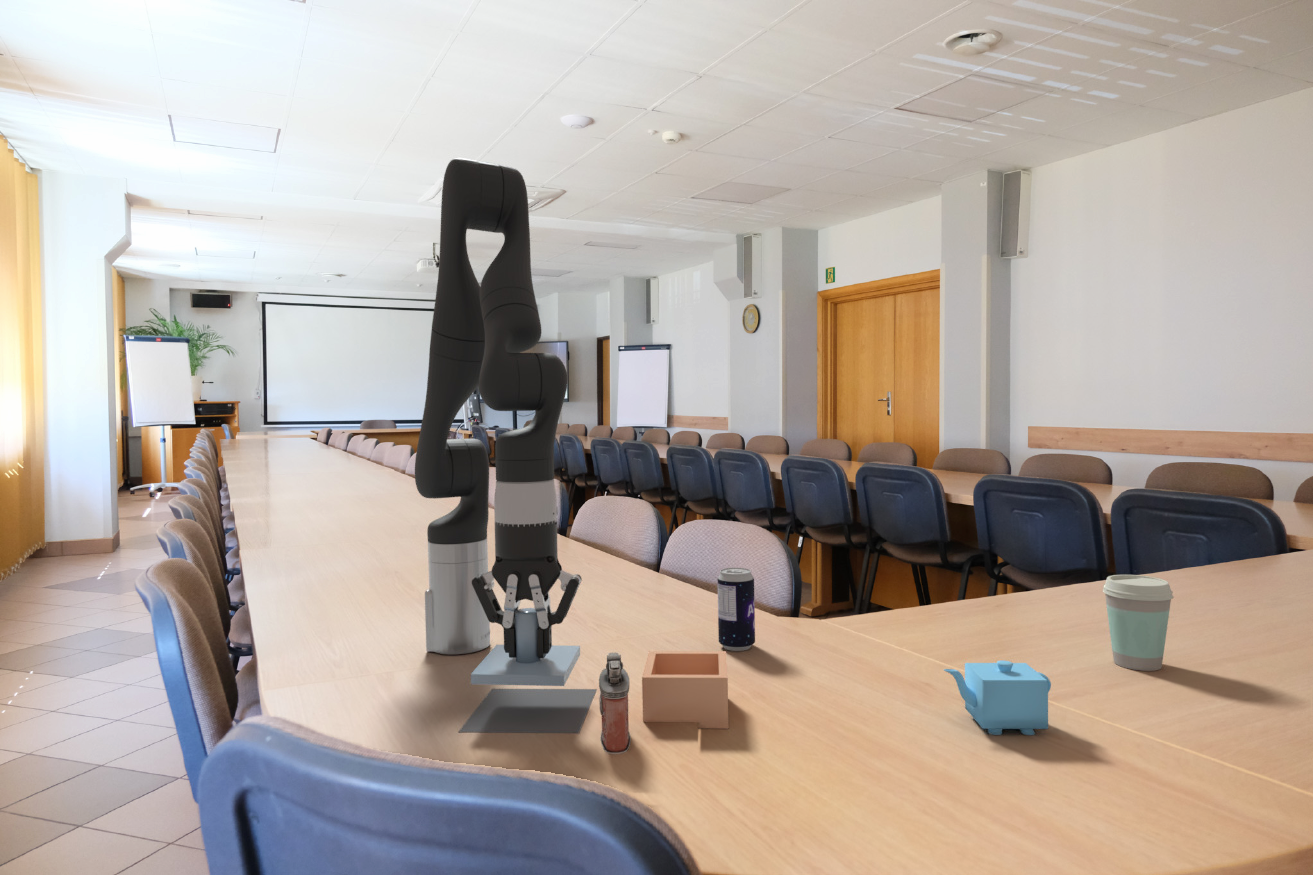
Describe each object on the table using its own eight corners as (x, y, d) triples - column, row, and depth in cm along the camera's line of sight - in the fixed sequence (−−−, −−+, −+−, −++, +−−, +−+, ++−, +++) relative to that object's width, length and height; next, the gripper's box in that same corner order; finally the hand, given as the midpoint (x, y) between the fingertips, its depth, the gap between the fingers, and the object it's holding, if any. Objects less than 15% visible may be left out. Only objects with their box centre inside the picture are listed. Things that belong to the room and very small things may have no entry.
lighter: (600, 731, 92) (598, 646, 92) (628, 729, 92) (627, 645, 92) (601, 761, 84) (598, 669, 84) (632, 760, 84) (630, 667, 84)
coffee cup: (1163, 657, 114) (1163, 575, 114) (1181, 677, 106) (1181, 588, 106) (1096, 652, 117) (1097, 572, 116) (1109, 671, 109) (1109, 585, 108)
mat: (458, 738, 91) (458, 731, 91) (492, 694, 105) (492, 688, 105) (579, 739, 90) (578, 732, 90) (596, 695, 104) (596, 689, 104)
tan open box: (643, 727, 93) (641, 677, 92) (649, 696, 103) (648, 651, 102) (728, 728, 92) (727, 677, 92) (726, 697, 102) (726, 651, 102)
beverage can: (753, 653, 120) (752, 574, 119) (716, 651, 121) (715, 574, 121) (756, 642, 125) (755, 567, 125) (721, 640, 127) (719, 566, 126)
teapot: (952, 736, 89) (951, 670, 88) (936, 715, 95) (936, 653, 94) (1062, 737, 88) (1061, 670, 88) (1039, 716, 94) (1039, 653, 94)
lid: (470, 684, 92) (469, 623, 92) (496, 653, 103) (495, 599, 103) (564, 685, 91) (563, 624, 91) (580, 654, 102) (579, 600, 102)
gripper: (459, 521, 93) (462, 665, 94) (577, 521, 92) (579, 667, 93) (478, 512, 100) (481, 645, 101) (587, 512, 99) (589, 647, 100)
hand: (528, 655), depth 97 cm, fingers closed on lid, 3 cm apart
